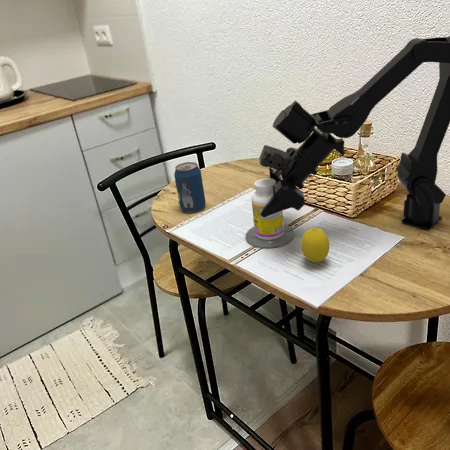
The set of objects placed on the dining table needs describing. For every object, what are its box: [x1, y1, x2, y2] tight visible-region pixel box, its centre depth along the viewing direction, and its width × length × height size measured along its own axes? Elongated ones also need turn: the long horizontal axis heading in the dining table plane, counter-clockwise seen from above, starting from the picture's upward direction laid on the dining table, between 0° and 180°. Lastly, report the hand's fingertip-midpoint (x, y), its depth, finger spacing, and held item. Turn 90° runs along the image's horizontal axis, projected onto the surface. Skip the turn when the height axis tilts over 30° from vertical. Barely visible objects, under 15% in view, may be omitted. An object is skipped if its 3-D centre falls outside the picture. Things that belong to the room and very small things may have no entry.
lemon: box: [300, 227, 330, 264], centre depth 94 cm, size 6×6×8 cm
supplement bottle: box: [251, 177, 285, 240], centre depth 104 cm, size 7×7×13 cm
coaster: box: [245, 224, 295, 249], centre depth 107 cm, size 11×11×1 cm
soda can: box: [173, 161, 206, 214], centre depth 123 cm, size 7×7×12 cm
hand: (261, 208), depth 104 cm, fingers closed on supplement bottle, 7 cm apart
